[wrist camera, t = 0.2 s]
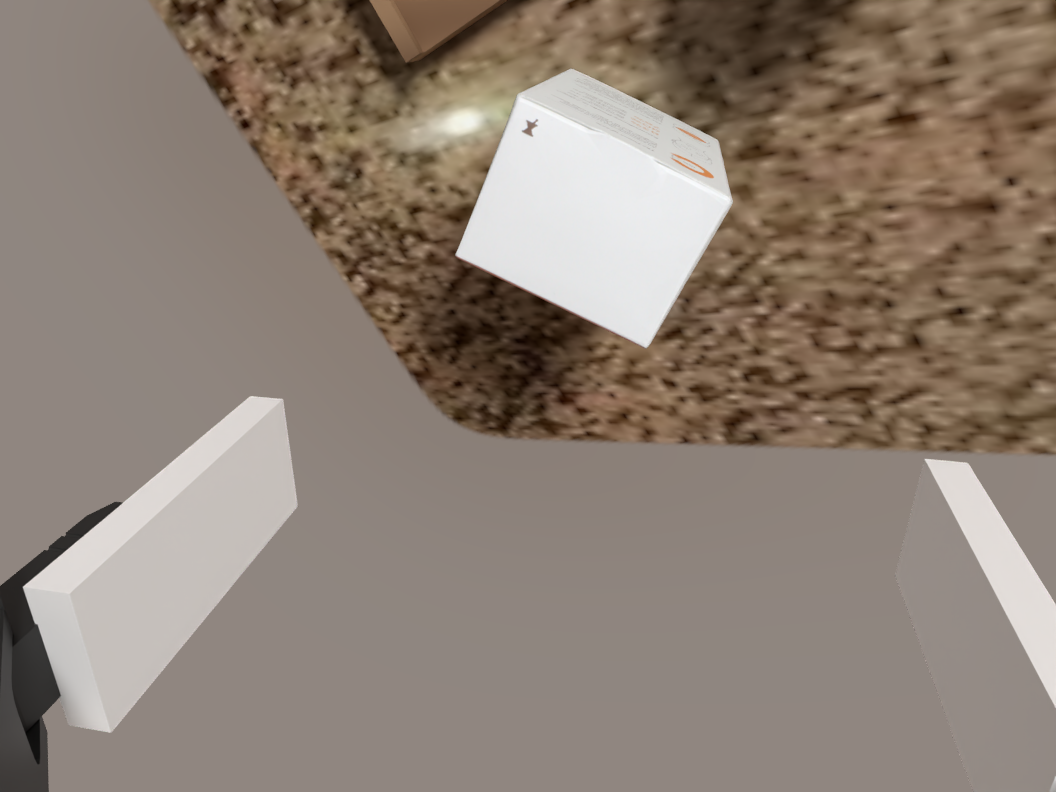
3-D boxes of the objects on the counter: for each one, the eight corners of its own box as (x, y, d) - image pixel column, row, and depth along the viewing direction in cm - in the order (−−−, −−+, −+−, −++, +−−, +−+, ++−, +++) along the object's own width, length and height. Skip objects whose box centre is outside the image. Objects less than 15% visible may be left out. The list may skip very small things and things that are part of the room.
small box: (517, 188, 40) (447, 256, 29) (569, 64, 37) (515, 86, 26) (660, 258, 41) (648, 354, 29) (723, 140, 38) (738, 195, 26)
